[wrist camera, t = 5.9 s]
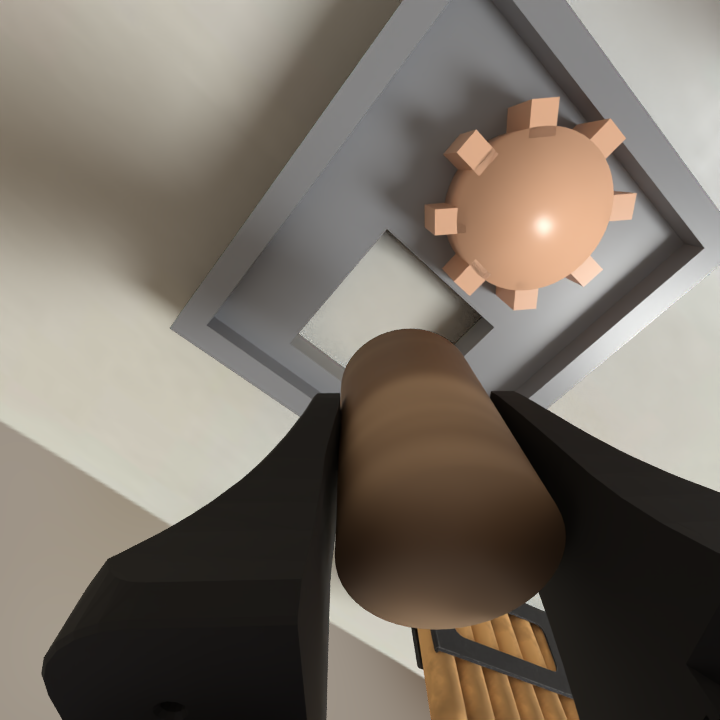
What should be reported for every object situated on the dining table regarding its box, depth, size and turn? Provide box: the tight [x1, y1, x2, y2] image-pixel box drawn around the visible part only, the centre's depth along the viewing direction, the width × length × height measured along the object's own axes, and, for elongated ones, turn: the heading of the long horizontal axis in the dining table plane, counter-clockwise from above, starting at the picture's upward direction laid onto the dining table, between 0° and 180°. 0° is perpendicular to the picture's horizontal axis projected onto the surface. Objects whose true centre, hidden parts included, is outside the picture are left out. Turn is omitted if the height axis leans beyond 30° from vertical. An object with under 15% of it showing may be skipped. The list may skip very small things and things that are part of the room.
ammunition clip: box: [411, 603, 579, 720], centre depth 21 cm, size 11×2×12 cm, turn 59°
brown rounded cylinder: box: [335, 329, 566, 630], centre depth 10 cm, size 4×4×6 cm
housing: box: [170, 0, 720, 417], centre depth 16 cm, size 16×14×4 cm
